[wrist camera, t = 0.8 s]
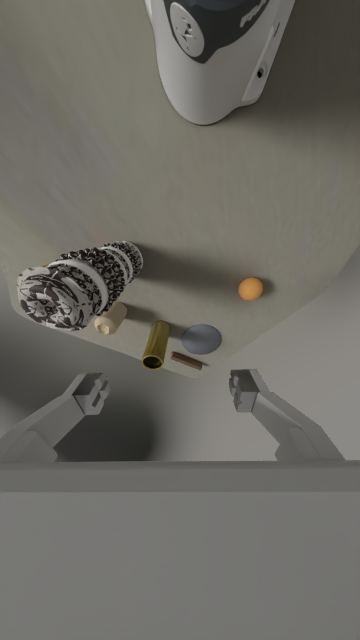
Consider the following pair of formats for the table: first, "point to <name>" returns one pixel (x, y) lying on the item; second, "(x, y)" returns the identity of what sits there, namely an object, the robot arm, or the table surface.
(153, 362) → the vase
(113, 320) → the candle
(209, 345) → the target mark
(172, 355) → the stopper strip
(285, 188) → the table surface
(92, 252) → the decorative candle
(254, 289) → the ball
